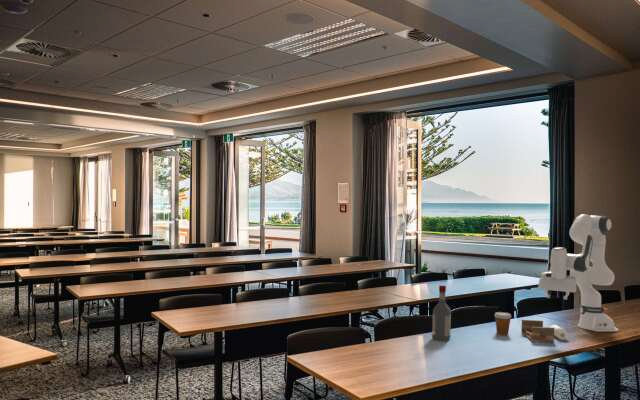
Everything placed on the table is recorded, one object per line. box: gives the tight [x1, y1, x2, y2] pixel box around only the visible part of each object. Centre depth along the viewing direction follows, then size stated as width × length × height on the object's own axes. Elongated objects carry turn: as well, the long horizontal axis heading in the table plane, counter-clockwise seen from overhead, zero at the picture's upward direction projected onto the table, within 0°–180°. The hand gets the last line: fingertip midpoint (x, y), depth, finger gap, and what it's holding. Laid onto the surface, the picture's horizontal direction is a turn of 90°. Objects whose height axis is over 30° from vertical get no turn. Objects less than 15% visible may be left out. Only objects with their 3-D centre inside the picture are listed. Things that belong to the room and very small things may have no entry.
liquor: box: [431, 285, 452, 342], centre depth 279 cm, size 9×9×30 cm
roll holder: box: [521, 319, 555, 344], centre depth 286 cm, size 20×12×8 cm, turn 176°
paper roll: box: [549, 324, 569, 341], centre depth 289 cm, size 13×6×6 cm, turn 176°
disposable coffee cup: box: [494, 311, 512, 336], centre depth 294 cm, size 10×10×12 cm
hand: (556, 298), depth 289 cm, fingers open, 8 cm apart
